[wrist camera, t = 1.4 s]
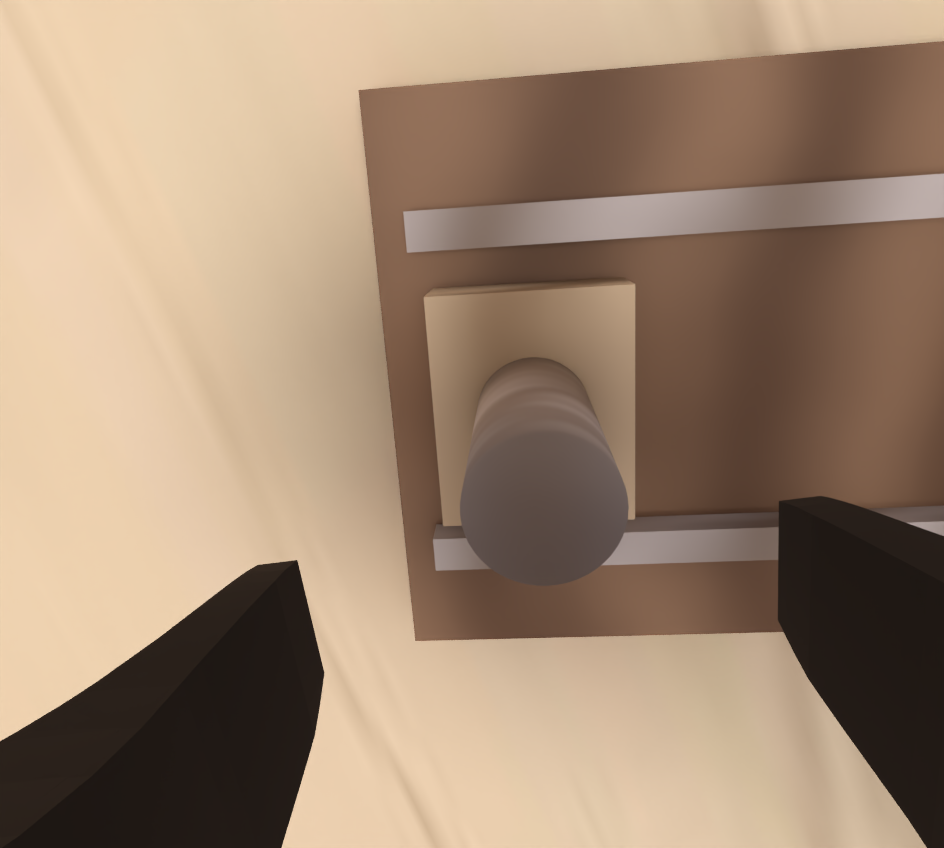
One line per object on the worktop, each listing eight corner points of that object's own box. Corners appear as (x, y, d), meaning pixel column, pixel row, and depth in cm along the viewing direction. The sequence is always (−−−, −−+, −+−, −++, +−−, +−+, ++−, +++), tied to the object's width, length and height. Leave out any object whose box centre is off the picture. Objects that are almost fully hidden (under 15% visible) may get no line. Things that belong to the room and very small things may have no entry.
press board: (1239, 27, 17) (1493, -37, 13) (1113, 595, 22) (1267, 694, 17) (370, 99, 19) (326, 64, 14) (421, 614, 24) (399, 709, 19)
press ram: (622, 276, 18) (701, 322, 11) (623, 490, 20) (692, 662, 12) (432, 288, 19) (377, 341, 11) (449, 496, 20) (411, 667, 13)
